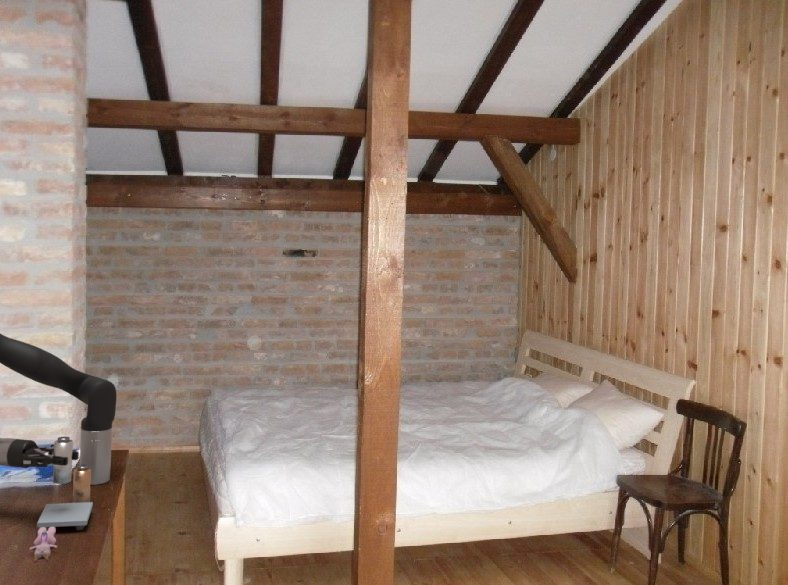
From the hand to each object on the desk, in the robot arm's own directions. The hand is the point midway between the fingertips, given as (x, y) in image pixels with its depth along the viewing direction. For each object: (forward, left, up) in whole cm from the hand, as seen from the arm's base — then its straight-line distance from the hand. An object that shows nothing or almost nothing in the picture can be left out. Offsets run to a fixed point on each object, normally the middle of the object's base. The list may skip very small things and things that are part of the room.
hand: (72, 458), depth 197 cm
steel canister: (-2, -2, -6) cm, 7 cm away
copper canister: (-10, +7, -18) cm, 22 cm away
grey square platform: (0, -1, -18) cm, 18 cm away
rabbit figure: (+13, -11, -18) cm, 25 cm away
